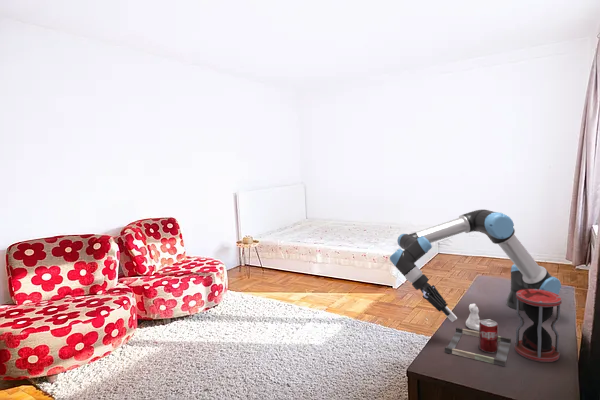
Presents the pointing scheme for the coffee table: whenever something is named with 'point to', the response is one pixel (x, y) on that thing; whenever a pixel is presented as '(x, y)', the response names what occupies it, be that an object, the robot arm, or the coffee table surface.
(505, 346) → the square frame
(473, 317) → the white creature statuette
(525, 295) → the hourglass
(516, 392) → the coffee table surface
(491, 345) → the soda can
